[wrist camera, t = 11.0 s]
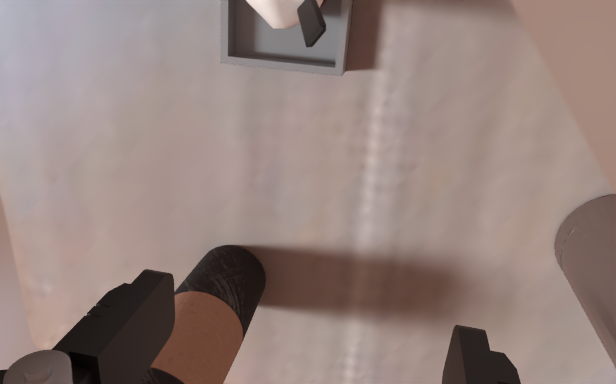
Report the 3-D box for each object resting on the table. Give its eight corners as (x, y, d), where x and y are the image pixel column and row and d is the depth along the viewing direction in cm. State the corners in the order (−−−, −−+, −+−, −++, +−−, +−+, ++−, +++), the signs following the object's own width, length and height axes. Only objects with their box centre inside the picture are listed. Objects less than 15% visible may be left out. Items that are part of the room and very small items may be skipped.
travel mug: (185, 257, 51) (63, 406, 33) (245, 231, 48) (148, 379, 30) (222, 313, 53) (126, 484, 35) (281, 292, 50) (212, 464, 32)
